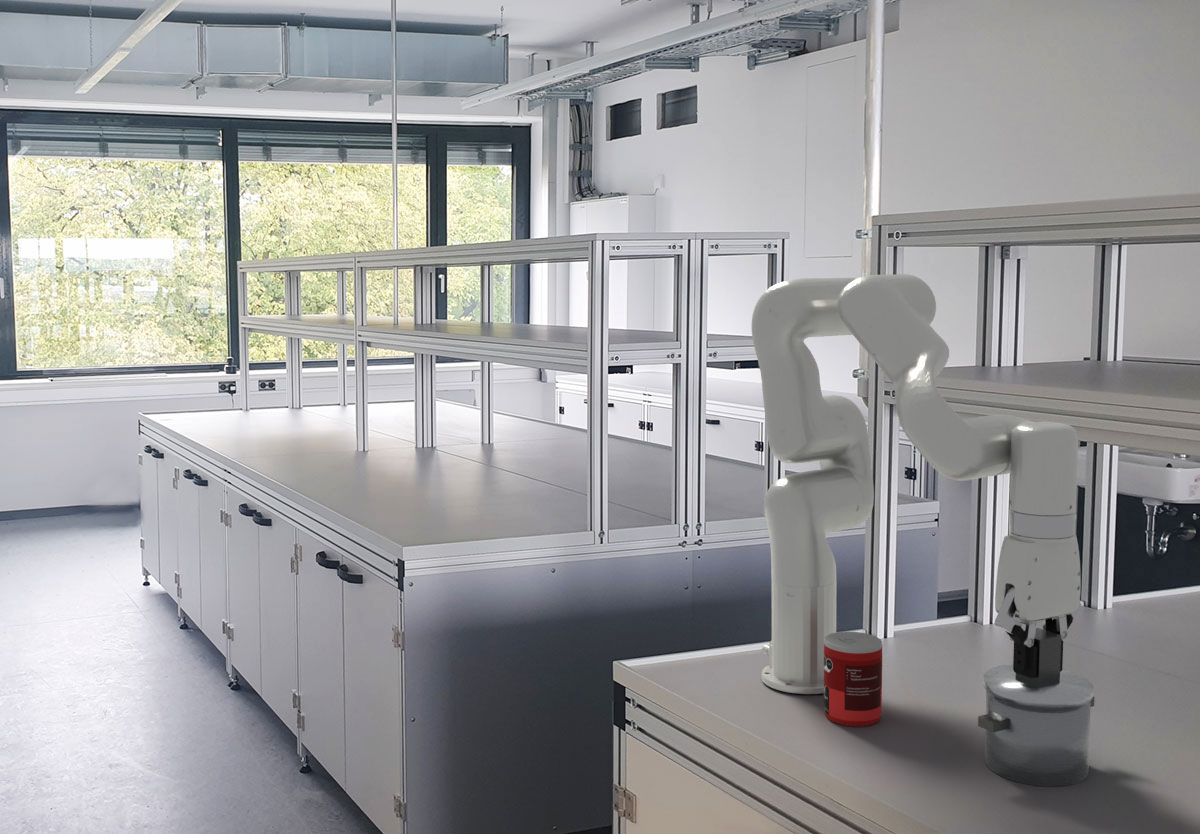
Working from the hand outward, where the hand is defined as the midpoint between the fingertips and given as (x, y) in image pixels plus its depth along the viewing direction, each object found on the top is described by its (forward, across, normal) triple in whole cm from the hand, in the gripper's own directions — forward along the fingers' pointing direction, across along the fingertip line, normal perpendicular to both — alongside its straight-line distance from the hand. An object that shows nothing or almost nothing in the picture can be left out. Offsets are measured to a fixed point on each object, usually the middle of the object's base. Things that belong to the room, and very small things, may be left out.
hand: (1037, 670), depth 145 cm
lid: (+2, 0, 0) cm, 2 cm away
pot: (+12, 0, 0) cm, 12 cm away
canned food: (+12, +9, -24) cm, 28 cm away
